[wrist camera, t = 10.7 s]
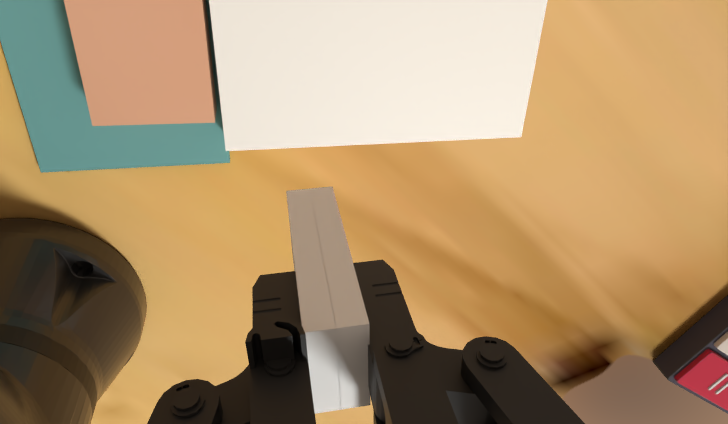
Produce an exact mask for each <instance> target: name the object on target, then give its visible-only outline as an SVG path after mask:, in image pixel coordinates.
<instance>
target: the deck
mask: <svg viewBox="0 0 728 424" xmlns="http://www.w3.org/2000/svg"><path fill="white" fill-rule="evenodd" d="M209 5H210V14H211V23H212V32H213V41H214V50H215V59H216V68H217V77H218V86H219V95H220V104H221V113H222V122H223V131H224V140H225V149H226V151H239V150H260V149H280V148H301V147H322V146H343V145H364V144H385V143H406V142H427V141H448V140H469V139H490V138H511V137H521V135H522V130H523V125H524V120H525V115H526V109H527V104H528V99H529V94H530V89H531V83H532V78H533V73H534V68H535V63H536V57H537V52H538V47H539V42H540V36H541V31H542V26H543V21H544V16H545V10H546V5H547V0H209Z"/></svg>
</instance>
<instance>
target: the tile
mask: <svg viewBox="0 0 728 424" xmlns="http://www.w3.org/2000/svg"><path fill="white" fill-rule="evenodd" d="M64 4H65V8H66V12H67V17H68V21H69V26H70V30H71V34H72V39H73V43H74V47H75V52H76V56H77V61H78V65H79V69H80V74H81V78H82V82H83V87H84V91H85V96H86V100H87V104H88V109H89V113H90V117H91V122H92V126H113V125H148V124H184V123H215V119H216V112H217V104H216V94H215V84H214V74H213V65H212V55H211V45H210V35H209V25H208V15H207V6H206V0H64Z"/></svg>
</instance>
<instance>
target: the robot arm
mask: <svg viewBox="0 0 728 424" xmlns="http://www.w3.org/2000/svg"><path fill="white" fill-rule="evenodd" d="M286 192H287V202H288V212H289V222H290V232H291V242H292V252H293V262H294V271H292V272H284V273H275V274H267V275H260V276H259V278H258V280H257V281H256V283H255V285H254V286H253V328H252V330H251V331H250V332H249V333H248V335H247V338H246V342H245V343H246V348H247V354H248V360H249V365H248V366H247V367H246V369H245V370H244V371H243V372H242V373H240V374H239V375H238V376H237V377H235V378H233V379H231V380H229V381H227V382H225V383H222V384H220V385H217V386H214V385H212V384H211V383H210V382H208V381H204V380H199V379H194V380H186V381H183V382H181V383H178V384H176V385H174V386H172V387H171V388H170V389H168V390H167V391H166V392H164V394H163V395H162V396H161V398H160V399H159V401H158V402H157V404H156V406H155V408H154V410H153V413H152V415H151V417H150V419H149V421H148V423H147V424H316V420H315V413H322V412H328V411H335V410H341V409H347V408H354V407H360V406H367V405H370V396H371V400H372V404H373V409H374V424H585V423H584V422H583V421H582V420H581V419H580V418H579V417H578V416H577V415H576V414H575V413H574V412H573V410H572V409H571V408H570V407H569V406H568V405H567V404H566V403H565V402H564V401H563V400H562V399H561V397H560V396H559V395H558V394H557V393H556V392H555V391H554V390H553V389H552V388H551V387H550V386H549V385H548V383H547V382H546V381H545V380H544V379H543V378H542V377H541V376H540V375H539V374H538V373H537V372H536V371H535V369H534V368H533V367H532V366H531V365H530V364H529V363H528V362H527V361H526V360H525V359H524V358H523V357H522V355H521V354H520V353H519V352H518V351H517V350H516V349H515V348H514V347H513V346H511V345H510V344H509V343H507V342H506V341H503V340H501V339H498V338H494V337H479V338H475V339H473V340H471V341H470V342H468V343H467V344H466V346H465V347H464V349H463V350H457V349H448V348H443V347H438V346H435V345H433V344H430V343H429V342H427V341H426V340H425V338H424V337H423V336H422V335H421V334H419V333H418V332H417V331H416V329H415V326H414V323H413V321H412V318H411V315H410V313H409V310H408V307H407V305H406V302H405V299H404V296H403V294H402V291H401V288H400V286H399V284H398V280H397V278H396V275H395V272H394V270H393V269H392V268H391V267H390V266H389V265H388V264H387V263H386V262H385V261H383V260H376V261H368V262H359V263H353V261H352V257H351V254H350V250H349V246H348V242H347V239H346V235H345V231H344V228H343V224H342V220H341V217H340V213H339V209H338V205H337V202H336V198H335V194H334V191H333V187H322V188H312V189H302V190H291V191H286ZM146 308H147V305H146V296H145V292H144V289H143V286H142V284H141V281H140V279H139V277H138V276H137V274H136V272H135V271H134V270H133V268H132V267H131V266H130V264H129V263H128V262H127V261H126V260H125V259H124V258H123V257H122V256H121V255H120V254H119V253H118V252H117V251H115V250H114V249H113V248H112V247H110V246H109V245H107V244H106V243H104V242H103V241H101V240H99V239H98V238H96V237H94V236H92V235H90V234H88V233H86V232H84V231H81V230H79V229H76V228H73V227H71V226H67V225H64V224H60V223H56V222H52V221H46V220H40V219H30V218H7V219H0V424H91V420H92V416H93V413H94V409H95V406H96V403H97V401H98V400H99V399H100V397H101V396H102V395H103V393H104V392H105V391H106V390H107V388H108V387H109V386H110V384H111V383H112V382H113V380H114V379H115V378H116V376H117V375H118V374H119V372H120V371H121V370H122V368H123V367H124V366H125V365H126V364H127V362H128V361H129V360H130V358H131V357H132V355H133V354H134V352H135V350H136V348H137V346H138V344H139V341H140V338H141V334H142V330H143V326H144V322H145V318H146Z"/></svg>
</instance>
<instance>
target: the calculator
mask: <svg viewBox="0 0 728 424" xmlns="http://www.w3.org/2000/svg"><path fill="white" fill-rule="evenodd" d="M652 361H653V363H654V364H655V365H656V366H657V367H658V369H659V370H660V371H661V372H662V374H663V375H664V376H665V377H666V378H667V379H668V380H669V381H670V382H672V383H674V384H676V385H678V386H679V387H681V388H683V389H685V390H687V391H688V392H690V393H692V394H694V395H696V396H697V397H699V398H701V399H703V400H704V401H706V402H708V403H710V404H712V405H713V406H716V407H717V408H719V409H721V410H722V411H724V412H726V413H728V295H727V296H726V297H725V298H724V299H723V300H722V301H720V302H719V303H718V304H717V305H716V306H715V307H714V308H713V309H711V310H710V311H709V312H708V313H707V314H706V315H705V316H703V317H702V318H701V319H700V320H699V321H698V322H697V323H695V324H694V325H693V326H692V327H691V328H690V329H689V330H687V331H686V332H685V333H684V334H683V335H682V336H681V337H680V338H678V339H677V340H676V341H675V342H674V343H673V344H672V345H670V346H669V347H668V348H667V349H666V350H665V351H664V352H662V353H661V354H660V355H659V356H658V357H657V358H656V359H655V360H652Z"/></svg>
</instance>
